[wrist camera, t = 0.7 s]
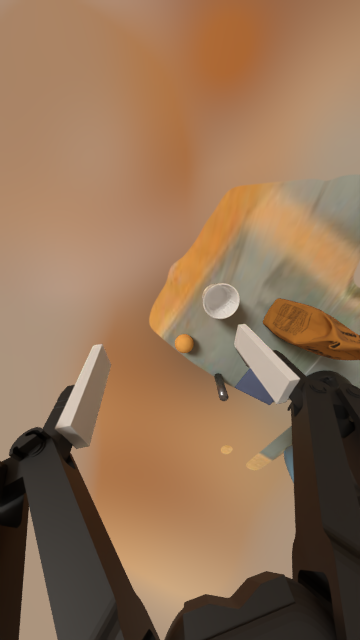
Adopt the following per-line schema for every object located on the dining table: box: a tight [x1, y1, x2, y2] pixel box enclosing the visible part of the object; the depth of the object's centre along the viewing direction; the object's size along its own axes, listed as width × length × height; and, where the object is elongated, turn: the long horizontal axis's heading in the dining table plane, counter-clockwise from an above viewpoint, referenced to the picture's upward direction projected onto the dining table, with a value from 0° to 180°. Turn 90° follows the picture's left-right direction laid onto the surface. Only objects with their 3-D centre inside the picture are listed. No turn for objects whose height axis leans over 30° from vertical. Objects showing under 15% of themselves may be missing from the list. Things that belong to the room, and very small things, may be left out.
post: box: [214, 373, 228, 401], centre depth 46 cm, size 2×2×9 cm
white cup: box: [202, 283, 240, 319], centre depth 38 cm, size 8×8×10 cm
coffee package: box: [263, 298, 360, 360], centre depth 33 cm, size 10×12×22 cm
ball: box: [175, 334, 194, 353], centre depth 44 cm, size 6×6×6 cm
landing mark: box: [235, 368, 274, 405], centre depth 49 cm, size 14×14×1 cm
